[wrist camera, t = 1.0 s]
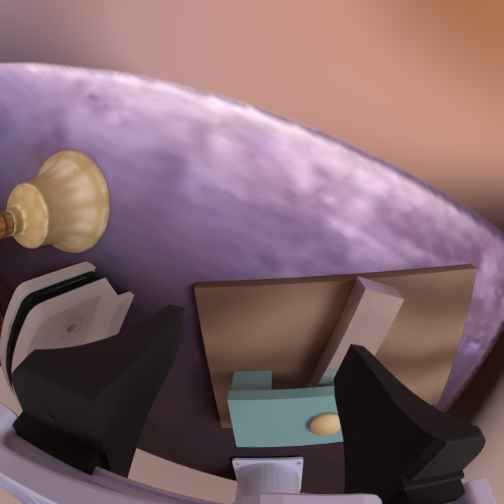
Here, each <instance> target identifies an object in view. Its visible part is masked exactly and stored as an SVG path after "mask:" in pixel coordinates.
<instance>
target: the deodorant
mask: <svg viewBox="0 0 504 504" xmlns="http://www.w3.org/2000/svg"><path fill="white" fill-rule="evenodd" d="M3 322H4V318H3V316H2V313H1V311H0V337H1V332H2V326H3Z"/></svg>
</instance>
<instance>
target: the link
mask: <svg viewBox="0 0 504 504" xmlns="http://www.w3.org/2000/svg"><path fill="white" fill-rule="evenodd" d="M403 301H404V298H403V297H402V296H401V295H400V293H399V292H398V291H397V290H396V289H395V287H393V286H390V285H386V284H383V283H380V282H376V281H373V280H369V279H366V278H362V277H359V276H358V277H357V279H356V281H355V284H354V286H353V289H352V291H351V293H350V295H349V298H348V300H347V302H346V305H345V307H344V309H343V311H342V314H341V316H340V318H339V320H338V322H337V324H336V327H335V329H334V331H333V333H332V335H331V337H330V339H329V341H328V343H327V345H326V347H325V349H324V351H323V354H322V356H321V357H320V359H319V361H318V363H317V365H316V367H315V369H314V371H313V373H312V375H311V377H310V378H308V379H307V380H305V381H304V382H303V383H302V384H301V385H300V386H299V388H298V389H300V388H314V387H325V386H334V377H335V375H336V373H337V371H338V369H339V367H340V365H341V363H342V361H343V359H344V357H345V355H346V353H347V350H348V348H349V346H350V344H355V345H361V346H364V347H365V348H366V349H367V350H368V351H370V352H371V353H372V354H373V355H374V356H375V354H376V353H377V351H378V349H379V347H380V346H381V344H382V342H383V340H384V338H385V336H386V335H387V333H388V331H389V329H390V327H391V325H392V323H393V321H394V319H395V317H396V315H397V313H398V311H399V309H400V307H401V305H402V303H403Z"/></svg>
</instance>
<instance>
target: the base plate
mask: <svg viewBox="0 0 504 504" xmlns="http://www.w3.org/2000/svg"><path fill="white" fill-rule="evenodd" d="M476 271H477V268H476V267H475V266H473V265H472V264H465V265H455V266H445V267H434V268H423V269H412V270H400V271H387V272H374V273H361V274H347V275H332V276H317V277H300V278H283V279H264V280H243V281H219V282H197V284H196V286H195V287H194V290H195V296H196V302H197V308H198V314H199V319H200V325H201V330H202V336H203V341H204V346H205V351H206V356H207V361H208V366H209V371H210V376H211V381H212V385H213V390H214V394H215V399H216V403H217V408H218V412H219V416H220V421H221V425H222V427H228V428H233V426H232V421H231V416H230V411H229V406H228V401H227V399H228V394H229V390H231V386H232V380H233V374H234V371H272V387H273V390H282V389H298V388H299V386H300V385H301V384H302V383H303V382H304V381H305V380H307V379H308V378H310V377H311V375H312V373H313V371H314V369H315V367H316V365H317V363H318V361H319V359H320V357H321V356H322V354H323V351H324V349H325V347H326V345H327V343H328V341H329V339H330V337H331V335H332V333H333V331H334V329H335V327H336V324H337V322H338V320H339V318H340V316H341V314H342V311H343V309H344V307H345V305H346V302H347V300H348V298H349V295H350V293H351V291H352V289H353V286H354V284H355V281H356V279H357V277H358V276H359V277H362V278H366V279H369V280H373V281H376V282H380V283H383V284H386V285H390V286H393V287H395V289H396V290H397V291H398V292H399V293H400V295H401V296H402V297H403V298H404V301H403V303H402V305H401V307H400V309H399V311H398V313H397V315H396V317H395V319H394V321H393V323H392V325H391V327H390V329H389V331H388V333H387V335H386V336H385V338H384V340H383V342H382V344H381V346H380V347H379V349H378V351H377V353H376V354H375V357H376V358H377V359H378V360H379V361H380V362H381V363H382V364H383V365H384V366H385V367H386V368H387V369H388V370H389V371H390V372H391V373H392V374H393V375H394V376H395V377H399V380H400V382H401V383H402V384H404V385H405V386H406V387H407V388H408V389H409V390H411V391H412V392H413V393H414V394H416V395H417V396H418V397H420V398H421V399H422V400H424V401H425V402H427V403H428V404H430V405H434V404H438V402H439V399H440V397H441V394H442V392H443V389H444V387H445V384H446V382H447V379H448V376H449V373H450V371H451V368H452V365H453V362H454V359H455V356H456V353H457V350H458V346H459V343H460V340H461V336H462V333H463V329H464V326H465V322H466V318H467V314H468V310H469V306H470V301H471V297H472V292H473V287H474V282H475V277H476Z"/></svg>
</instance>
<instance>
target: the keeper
mask: <svg viewBox="0 0 504 504" xmlns="http://www.w3.org/2000/svg"><path fill="white" fill-rule="evenodd" d="M396 378H397V379H398V380H399V377H396ZM399 381H400V380H399ZM227 401H228V406H229V411H230V416H231V421H232V426H233V431H234V436H235V440H236V445H237V447H280V446H299V445H312V444H323V443H332V442H341V441H343V436H342V431H341V426H340V421H339V416H338V412H337V407H336V402H335V395H334V386H325V387H314V388H300V389H282V390H273V387H272V371H234V374H233V380H232V386H231V390H229V394H228V399H227Z"/></svg>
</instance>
